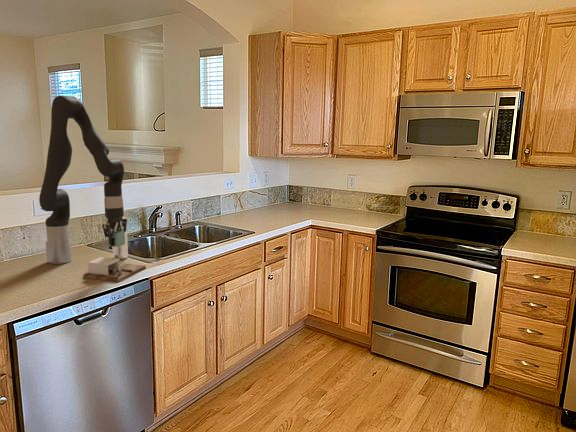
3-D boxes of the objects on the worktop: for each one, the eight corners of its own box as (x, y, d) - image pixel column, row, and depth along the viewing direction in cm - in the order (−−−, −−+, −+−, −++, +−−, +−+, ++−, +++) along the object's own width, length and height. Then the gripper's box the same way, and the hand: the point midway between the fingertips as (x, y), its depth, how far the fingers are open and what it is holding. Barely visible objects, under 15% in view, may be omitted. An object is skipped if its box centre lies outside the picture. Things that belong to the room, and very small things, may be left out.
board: (83, 277, 181) (82, 263, 180) (112, 264, 199) (112, 251, 198) (118, 282, 177) (117, 267, 176) (145, 268, 195) (145, 254, 194)
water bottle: (113, 256, 212) (110, 205, 207) (128, 255, 214) (125, 204, 209) (112, 260, 206) (109, 207, 201) (128, 258, 208) (125, 207, 203)
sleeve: (108, 246, 190) (107, 232, 189) (115, 243, 195) (114, 230, 194) (118, 246, 189) (117, 233, 188) (125, 244, 194) (124, 230, 192)
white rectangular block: (88, 273, 181) (87, 262, 180) (101, 268, 189) (100, 257, 188) (107, 276, 179) (106, 264, 178) (119, 270, 186) (119, 259, 186)
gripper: (117, 203, 196) (119, 239, 199) (95, 208, 183) (98, 247, 186) (131, 204, 194) (133, 241, 198) (110, 209, 181) (113, 249, 184)
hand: (116, 244), depth 192 cm, fingers closed on sleeve, 5 cm apart
